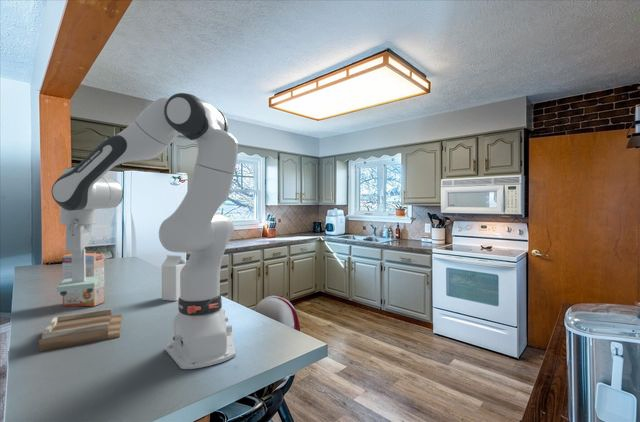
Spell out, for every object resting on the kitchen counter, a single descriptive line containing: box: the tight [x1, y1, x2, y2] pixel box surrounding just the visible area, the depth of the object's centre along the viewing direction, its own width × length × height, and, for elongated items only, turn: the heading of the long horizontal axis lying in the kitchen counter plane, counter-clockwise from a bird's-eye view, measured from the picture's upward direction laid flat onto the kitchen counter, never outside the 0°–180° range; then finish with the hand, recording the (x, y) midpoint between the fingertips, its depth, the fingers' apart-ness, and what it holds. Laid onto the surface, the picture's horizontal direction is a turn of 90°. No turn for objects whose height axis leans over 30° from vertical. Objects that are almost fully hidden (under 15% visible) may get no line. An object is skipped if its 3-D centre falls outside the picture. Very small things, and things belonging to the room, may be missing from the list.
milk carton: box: [161, 254, 187, 302], centre depth 136 cm, size 7×7×19 cm
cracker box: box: [61, 252, 105, 307], centre depth 127 cm, size 14×6×21 cm, turn 84°
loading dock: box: [38, 308, 123, 353], centre depth 99 cm, size 18×19×4 cm
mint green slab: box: [56, 248, 98, 297], centre depth 98 cm, size 11×9×13 cm
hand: (78, 262), depth 98 cm, fingers closed on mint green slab, 3 cm apart
